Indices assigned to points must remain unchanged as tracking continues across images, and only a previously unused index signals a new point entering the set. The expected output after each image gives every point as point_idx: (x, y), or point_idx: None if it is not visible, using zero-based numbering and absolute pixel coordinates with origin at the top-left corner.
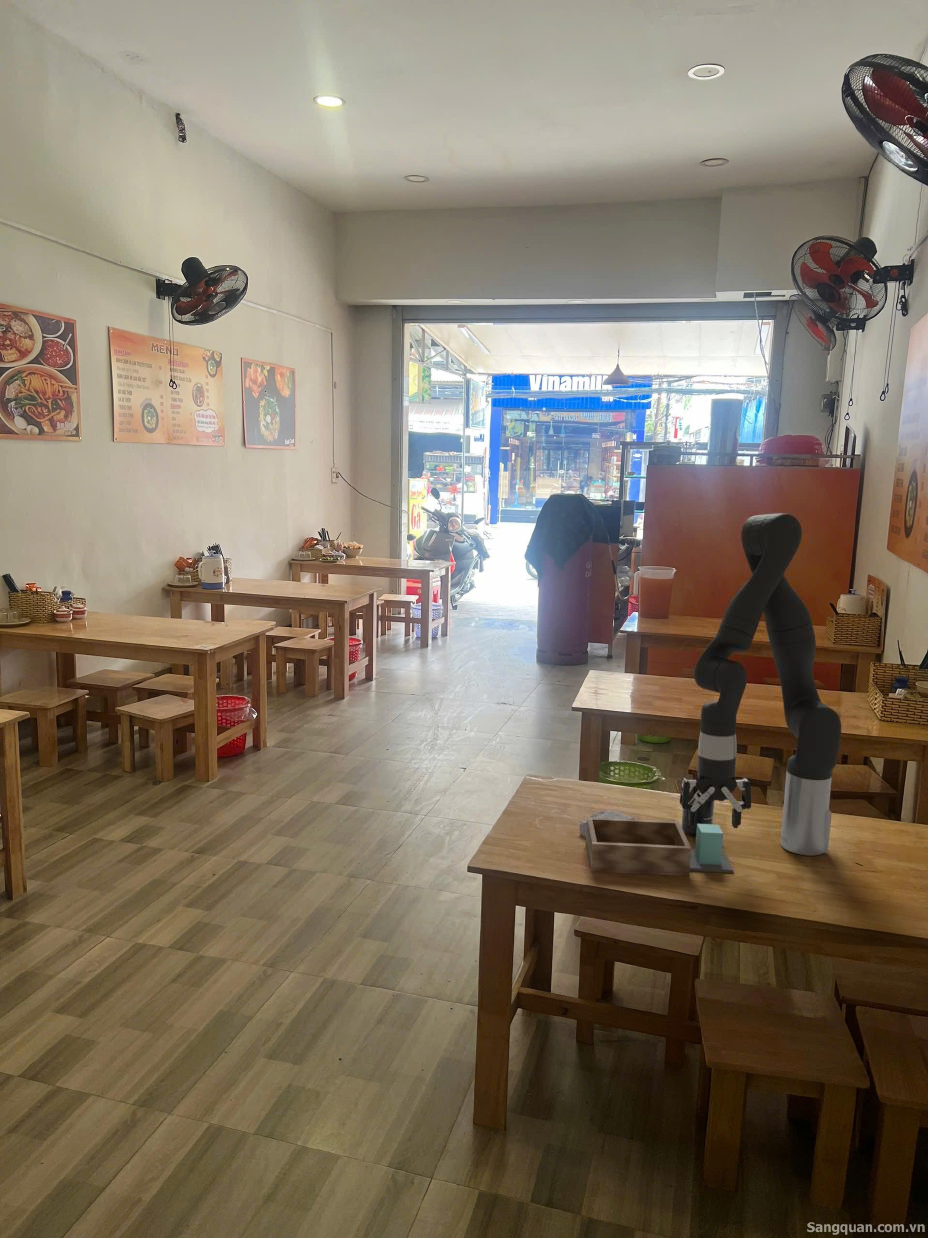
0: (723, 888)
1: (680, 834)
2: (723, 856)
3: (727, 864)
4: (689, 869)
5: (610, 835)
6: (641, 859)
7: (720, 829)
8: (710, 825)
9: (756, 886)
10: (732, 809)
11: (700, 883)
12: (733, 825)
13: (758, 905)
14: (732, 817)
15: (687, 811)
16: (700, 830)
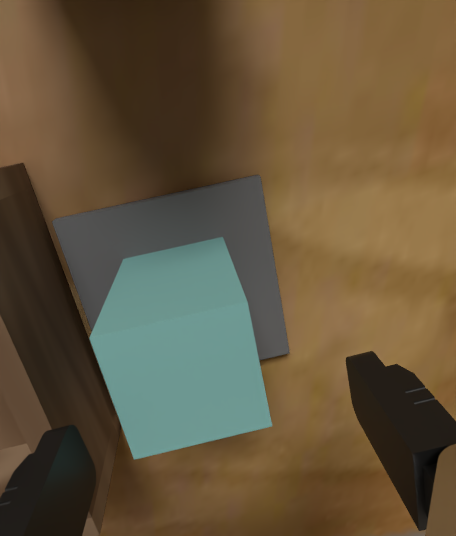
0: (243, 464)
1: (7, 401)
2: (256, 234)
3: (269, 312)
4: (115, 448)
5: None
6: None
7: (258, 376)
8: (190, 334)
9: (354, 415)
10: (407, 449)
11: (165, 459)
12: (355, 398)
13: (339, 519)
14: (372, 405)
15: None
16: (126, 438)
